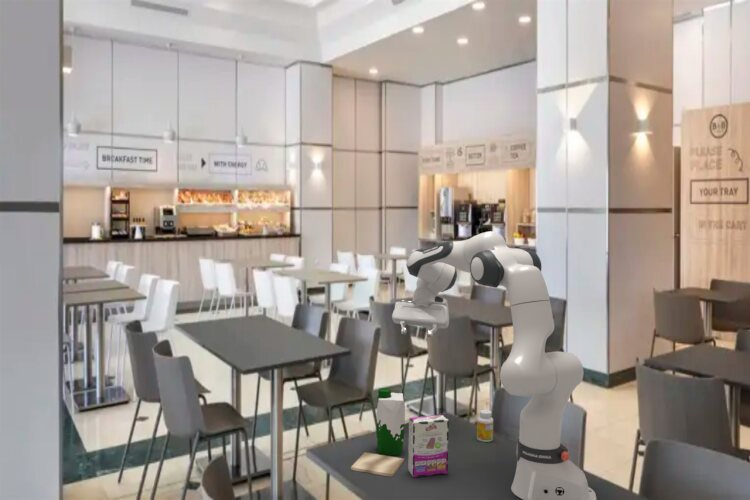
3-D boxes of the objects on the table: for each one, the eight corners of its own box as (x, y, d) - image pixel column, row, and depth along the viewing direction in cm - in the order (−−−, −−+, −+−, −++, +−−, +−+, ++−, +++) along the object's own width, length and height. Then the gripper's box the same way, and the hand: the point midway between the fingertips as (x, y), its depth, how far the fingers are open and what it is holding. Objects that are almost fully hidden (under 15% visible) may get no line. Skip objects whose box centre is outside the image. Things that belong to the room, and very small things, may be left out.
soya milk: (376, 445, 199) (377, 385, 198) (403, 446, 199) (405, 386, 197) (375, 456, 190) (377, 393, 189) (404, 456, 190) (405, 394, 189)
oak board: (403, 461, 187) (404, 458, 187) (392, 476, 175) (392, 474, 175) (364, 454, 191) (364, 452, 191) (350, 469, 180) (350, 467, 179)
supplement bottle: (473, 437, 208) (474, 409, 207) (487, 435, 210) (488, 408, 209) (481, 442, 203) (482, 414, 202) (495, 441, 204) (496, 413, 204)
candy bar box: (441, 467, 183) (443, 414, 182) (448, 474, 178) (449, 419, 177) (406, 470, 180) (408, 416, 179) (412, 477, 175) (413, 422, 174)
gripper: (395, 294, 218) (386, 326, 210) (450, 299, 212) (443, 333, 204) (398, 304, 223) (389, 336, 215) (452, 309, 217) (446, 342, 208)
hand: (416, 334), depth 209 cm, fingers open, 8 cm apart
